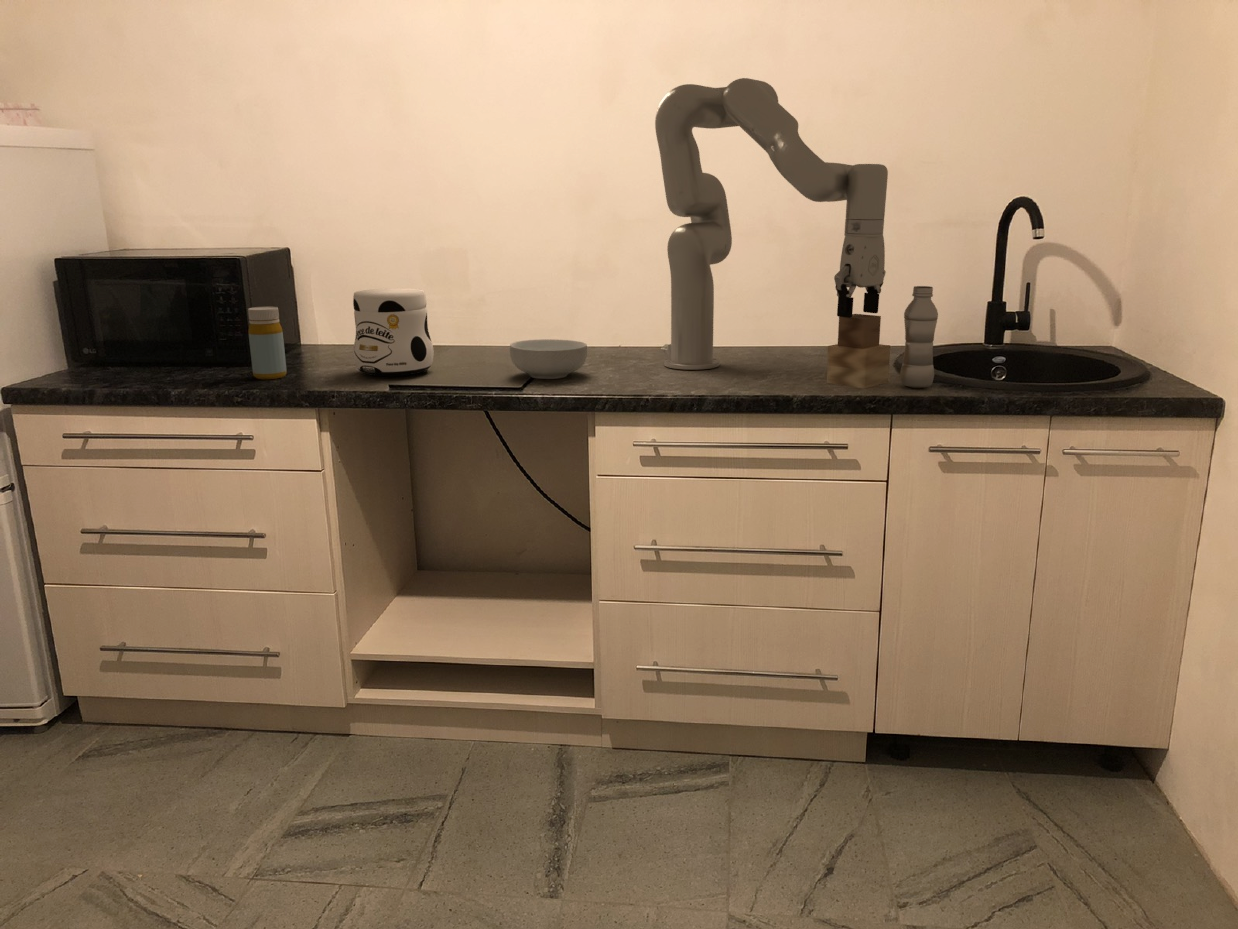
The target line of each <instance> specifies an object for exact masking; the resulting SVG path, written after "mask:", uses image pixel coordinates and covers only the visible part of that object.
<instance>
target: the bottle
mask: <svg viewBox="0 0 1238 929" xmlns="http://www.w3.org/2000/svg"><path fill="white" fill-rule="evenodd" d="M247 312H248V313H247V314H248V319H249V321H248V322H249V326H248V332H247V333H248V341H249V349H250V350H249V351H250V357H251V358H250V359H251V367H252V368H251V369H252V375H253V377H254V378H255V379H256V380H257V379H258V380H274V379H276V380H277V379H282V378H284V377H285V376H286V375H287V363H286V362H287V360H286V353H285V343H284V342H285V341H284V334H283V333H284V332H283V328H282V326H281V324H280V314H279V308H278V306H256V307H250V308H247Z"/></svg>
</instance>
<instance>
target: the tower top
mask: <svg viewBox="0 0 1238 929" xmlns="http://www.w3.org/2000/svg"><path fill="white" fill-rule="evenodd" d="M827 346H828V347H827V366H828V365H830V366H837V367H844V368H851V369H859V370H869V369H873V368H878V367H882V366H886V365H889V366H890V361H891V360H890V358H891V345H890V344H883V343H882V344H881V343H879V346H874V347H869V348H865V349H860V348H852V347H843V346H838V343H835V344H831V345H827Z"/></svg>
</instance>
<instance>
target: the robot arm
mask: <svg viewBox="0 0 1238 929" xmlns="http://www.w3.org/2000/svg"><path fill="white" fill-rule="evenodd" d="M733 127H740V128H741V129H742V130H743V131H744V132H745V133H746V134H747V135H748V137H750V138H751V139H753V141H755V143H757V145H759V146H760V147H761V149H763V150H764V151H765V153H767V155H768V157H769V159H770V161H771V162H772V164H773V166H774V167H775V168H776V170H777V171H778V172H779V174H780V175H781V176H782V177H783V178H784V180H786V181H787V182H788V183H789V184H790V185H791V186H792V187H793V188H794V189H795V190H796V191H798V192H799V194H801V195H802V196H803V197H805V198H806V199H808V200H809V201H812V202H816V203H824V202H825V203H826V202H827V203H828V202H829V203H831V202H832V203H833V202H834V203H835V202H842V201H846V203H845V204H846V207H845V208H846V209H845V219H844V220H845V221H844V239H843V242H842V243H843V244H842V249H841V256H840V262H839V271H838V272H837V273H836V274H835V275H834V277H833V278H834V284H835V290H836V296H837V297H838V298H837V311H836V316H837V317H838V318H839V317H847V318H851V317H852V314H853V310H854V309H853V308H854V297H852V296H853V294H854V292H855V290H856V289H857V288H865V291H866V292H864V295H863V308H862V310H863V313H868V314H869V313H870V314H878V312H879V304H880V294H881V292H882V286H883V284H884V280H885V276H886V273H887V272H886V270H885V262H886V261H885V252H886V250H885V249H886V248H885V238H884V227H885V226H884V225H885V215H886V214H885V213H886V202H887V201H886V200H887V189H888V178H889V176H888V174H889V170H888V168H887V166H886V165H885V164H880V163H857V164H856V163H855V164H853V165H852V164H846V163H839V162H827V161H824V160H823V159H821V158H820V157H819V156H818V155H817V153H815V152H814V151H813V150H812V149H811V148H810V147H809V146H808V145H807V144H806V143H805V142H804V140H803V139H802V137H801V136H800V134H799V121H798V120H797V119H796V117H794V116H793V115H792V114H791V113H790V112H789V111H788V110H787V109H786V108H784V107H783V105H781V103H780V102H779V97H778V93H777V91H776V90H775V88H774V87H773V86H772V85H771V84H770V83H768V82H766V81H764V80H759V79H753V78H749V77H746V78H745V77H741V78H737V79H735V80H732V81H731V82H730V83H728V85H727V86H721V87H711V86H705V85H700V84H693V83H691V84H688V83H687V84H681V85H678V86H676V87H673V88H672V89H670V91H668V92H667V93H666V94H665V95H664V97H663V98H662V99H661V101H660V102H659V105H658V107H657V110H656V114H655V120H654V128H655V134H656V140H657V141H656V142H657V145H658V150H659V156H660V164H661V173H662V178H663V179H662V181H663V186H664V193H665V199H666V203H667V207H668V208H669V211H670V212H671V213H672V214H673V215H675V216H676V217H680V218H681V217H682V218H690V222H689V223H688V222H687V223H684V224H681V225H680V226H678V227H677V228H675V229H674V230H673V231H672V233H671V235H670V236H669V238H668V242H667V249H666V250H667V258H668V262H669V269H670V270H669V271H670V298H671V300H670V303H671V304H670V305H671V306H670V309H671V310H670V313H671V314H670V317H671V318H670V327H671V328H670V343H669V344H667V343H665V344H664V345H663V346H662V347H660V349H659V350H660V351H659V352H660V353H661V354H666V355H667V358H666V359H664V361H663V362H664V364H663V365H664V366H665V367H666V368H669V369H675V370H687V371H688V370H690V371H691V370H692V371H695V370H697V371H699V370H709V369H715V368H718V367H719V366H720V362H721V361H720V360H719V358H715V357H714V314H715V313H714V312H715V311H714V310H715V307H714V306H715V305H714V304H715V301H714V299H715V298H714V297H715V295H714V294H715V293H714V292H715V291H714V289H715V288H714V287H715V286H714V285H715V284H714V277H713V272H712V268H711V265H716V264H719V263H722V262H723V261H724V260H725V259H727V257H728V255H730V252H731V249H732V245H733V238H732V236H733V235H732V230H731V221H730V213H729V206H728V200H727V195H726V194H727V193H726V191H725V188H724V186H723V183H722V182H721V181H720V180H719V179H718V178H717V176H715V175H714V174H711V173H707V172H703V168H702V165H701V164H702V163H701V155H700V150H699V146H698V143H697V141H696V139H695V136H694V134H693V129H694V128H697V129H698V128H701V129H712V130H714V129H723V128H733ZM856 287H857V288H856Z"/></svg>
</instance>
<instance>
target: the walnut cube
mask: <svg viewBox="0 0 1238 929" xmlns="http://www.w3.org/2000/svg"><path fill="white" fill-rule="evenodd" d="M881 319H882V318H881V315H872V314H861V313H852V317H851V318H847V317H838V332H837V333H838V334H837V344H838V346H843V347H852V348H860V349H865V348H869V347H874V346H879V344H880V339H881V338H880V335H881V321H882V320H881Z"/></svg>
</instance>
